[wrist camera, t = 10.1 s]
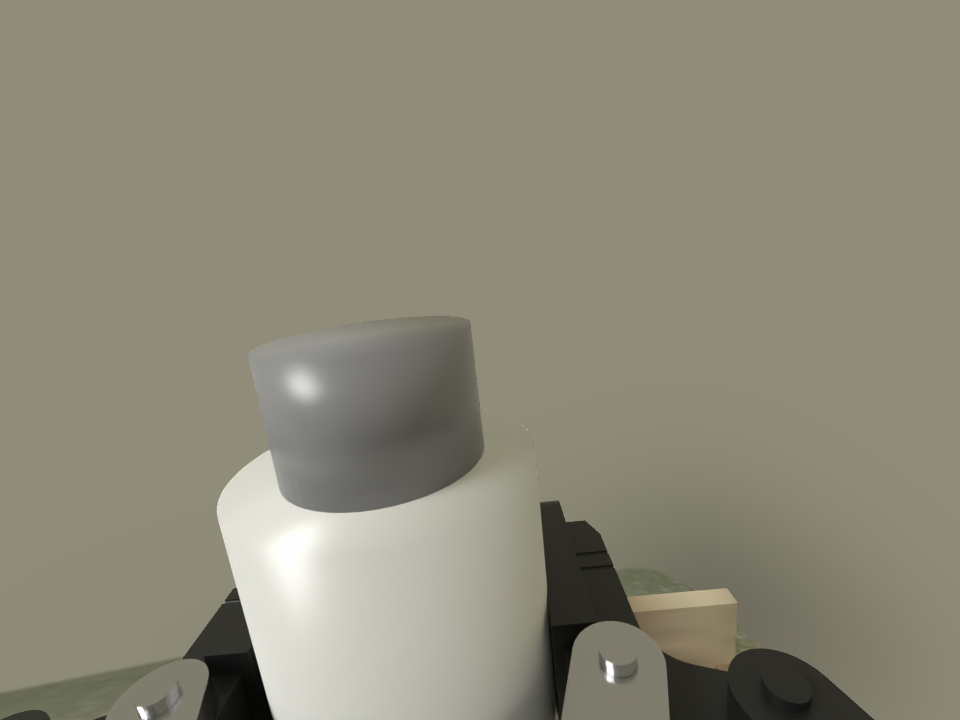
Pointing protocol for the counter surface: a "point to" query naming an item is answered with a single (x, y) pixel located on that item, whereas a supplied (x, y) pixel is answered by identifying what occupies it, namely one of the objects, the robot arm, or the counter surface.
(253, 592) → the white plastic bottle
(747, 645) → the counter surface
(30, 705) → the counter surface
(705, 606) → the wooden tray
